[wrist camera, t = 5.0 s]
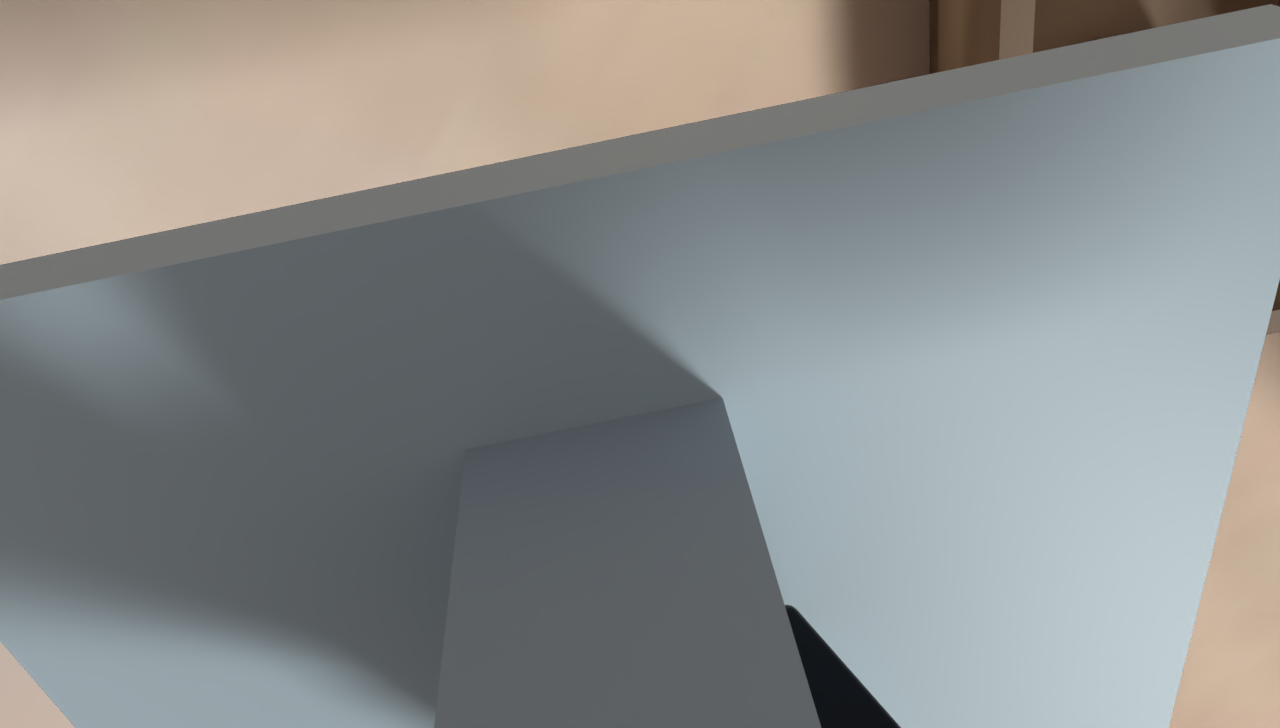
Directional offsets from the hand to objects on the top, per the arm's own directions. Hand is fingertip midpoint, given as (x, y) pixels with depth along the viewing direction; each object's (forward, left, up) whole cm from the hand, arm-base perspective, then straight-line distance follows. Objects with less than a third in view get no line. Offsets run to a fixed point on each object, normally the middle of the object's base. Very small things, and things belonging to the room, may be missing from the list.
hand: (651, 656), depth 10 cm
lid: (0, 0, -1) cm, 1 cm away
